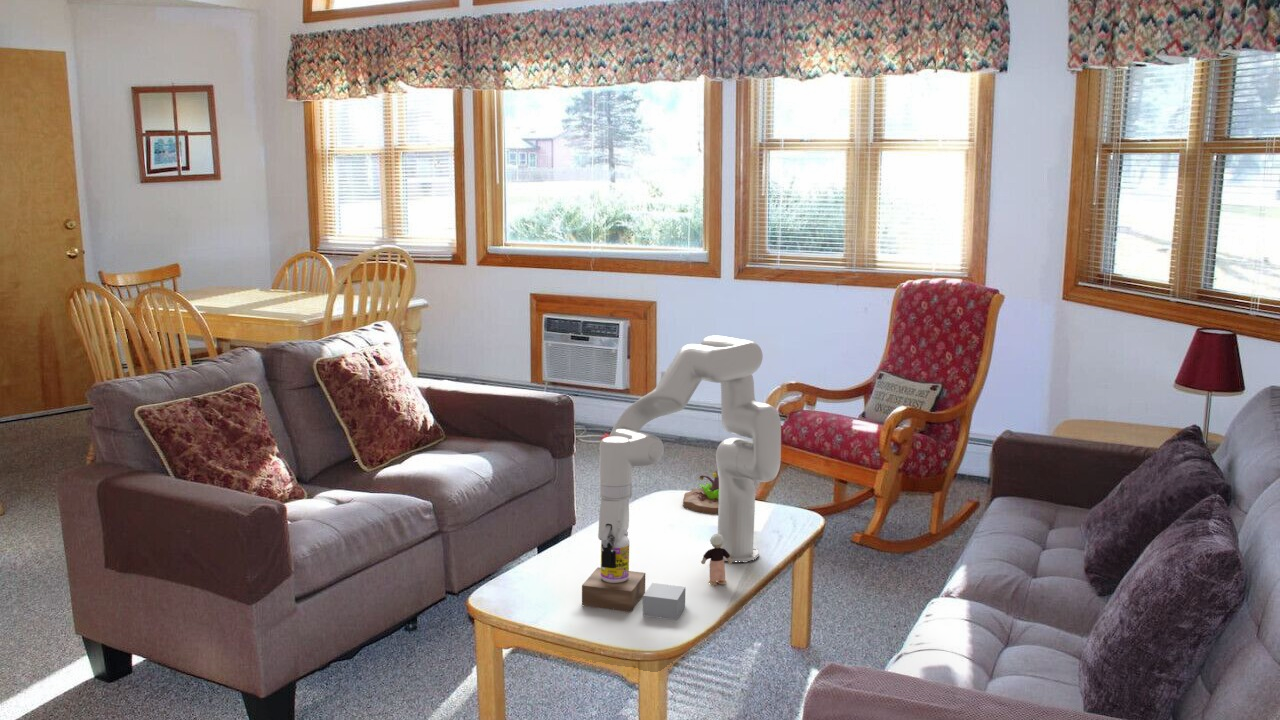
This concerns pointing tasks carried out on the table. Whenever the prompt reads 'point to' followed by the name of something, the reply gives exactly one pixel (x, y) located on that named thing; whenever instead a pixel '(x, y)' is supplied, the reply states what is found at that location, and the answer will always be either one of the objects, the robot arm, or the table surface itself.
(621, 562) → the supplement bottle
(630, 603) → the walnut block
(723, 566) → the grandmother figurine
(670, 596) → the grey block
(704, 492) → the plant
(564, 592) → the table surface
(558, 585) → the table surface
